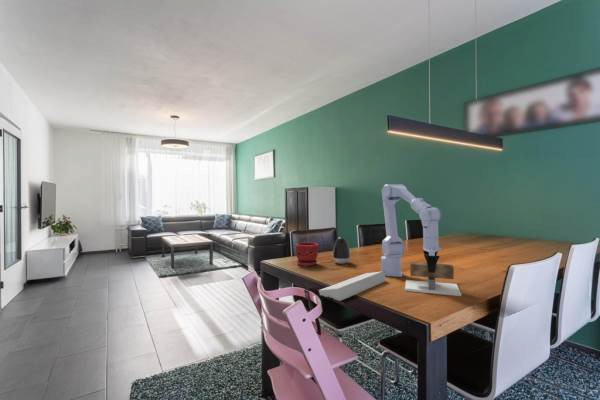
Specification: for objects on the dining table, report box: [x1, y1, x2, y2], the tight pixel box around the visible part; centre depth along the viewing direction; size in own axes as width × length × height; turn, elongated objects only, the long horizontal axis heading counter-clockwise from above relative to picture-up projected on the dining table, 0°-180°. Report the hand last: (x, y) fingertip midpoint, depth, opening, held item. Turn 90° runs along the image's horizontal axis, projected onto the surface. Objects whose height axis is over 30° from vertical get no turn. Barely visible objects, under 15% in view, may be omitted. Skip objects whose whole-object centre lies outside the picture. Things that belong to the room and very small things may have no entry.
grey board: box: [404, 279, 462, 297], centre depth 121 cm, size 20×13×1 cm, turn 69°
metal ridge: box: [427, 277, 436, 290], centre depth 121 cm, size 2×10×4 cm, turn 159°
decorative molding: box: [318, 270, 387, 302], centre depth 124 cm, size 34×5×10 cm
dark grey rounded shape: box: [332, 236, 351, 265], centre depth 171 cm, size 10×10×15 cm
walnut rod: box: [409, 261, 455, 280], centre depth 121 cm, size 16×4×5 cm, turn 69°
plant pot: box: [295, 242, 319, 267], centre depth 169 cm, size 13×13×12 cm
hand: (431, 270), depth 121 cm, fingers open, 7 cm apart
